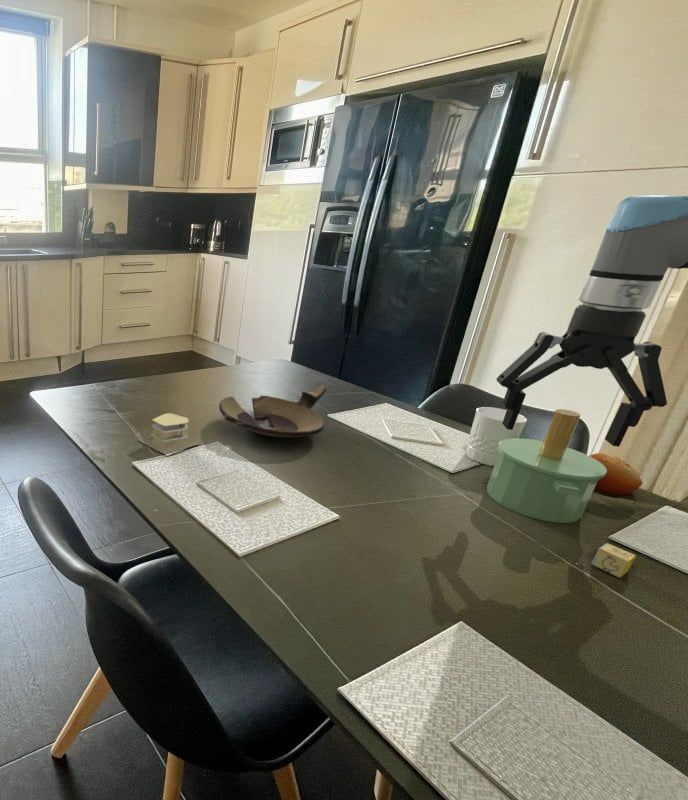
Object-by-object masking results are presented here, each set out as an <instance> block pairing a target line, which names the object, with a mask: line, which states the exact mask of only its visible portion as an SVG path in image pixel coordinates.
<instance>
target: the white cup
mask: <svg viewBox="0 0 688 800" xmlns="http://www.w3.org/2000/svg"><path fill="white" fill-rule="evenodd" d="M506 411H507V409H504V408H499V407H491V406H481V407H478V408H476V410H475V414H474V417H473V421H472V424H471V428H470V432H469V433H470V434H469V436H468V443H467V445H466V450H465V453H466V454H465V455H466V457H467V456H468V457H469V458H468V457H467V458H468V459H470V458H471V459H470V460H472V461H473V460H475V461H474V462H476V461H477V462H476V463H479V462H480V463H479V464H482V465H486V466H491V467H494V466H495V463H496V460H497V458H498V455H499V452H500V451H499V449H498V445H499V442H500V441H502V440H505V439H510V438H520V437H521V435H522V432H523V430H524V428H525V426H526V423H527V421H528V418H526V417H525V416H523V415H522V414H520V413H519V414H518V417H517V419H516V422H515V424H514V427H513V430H510V429H506V427H505V426H504V425H503V424H502V422H503V419H504V417H505V414H506Z"/></svg>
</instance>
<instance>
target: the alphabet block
mask: <svg viewBox="0 0 688 800" xmlns="http://www.w3.org/2000/svg"><path fill="white" fill-rule="evenodd" d="M636 557H637V555H636V554H634V553H632V552H630V551H626V550H624V549H622V548H619V547H617V546H615V545H613V544H610V543H608V542H607V543H604V544H603V545H602V546H600V547H599V548H598V550H597V552H596V554H595V555H594V557H593V559H592V561H591V563H590V564H591V566H594V567H595V568H598V569H600V570H602V571H604V572H606V573H608V574H610V575H612V576H615V577H617V578H619V579H620V578H622V577H623V576H625V574H627V573H628V571H629V570H630V568H631V566H632V564H633V563H634V561H635V559H636Z"/></svg>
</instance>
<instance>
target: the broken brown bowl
mask: <svg viewBox="0 0 688 800" xmlns="http://www.w3.org/2000/svg"><path fill="white" fill-rule="evenodd" d="M327 389H328V388H327V387H326V386H325V385H322V386H319V387H318V388H316V389H314V390H312V391H302V392H301V397H300V398H299V400H298V402H295V401H291V400H286V399H283V398H279V397H273V396H269V395H260V396H259V397H252V398H251V403H252V409H253V413H254V417H253V416H251V415H250V414H249V413H248V412H247V411H246V409H244V408H243V407H242V406H241V404H240V403H238V401H237V400H236V398H234V397H233V396H228V397H224V398H223V399H221V400H220V401H219V403H218V404H219V405H218V409H219V412H220V414H221V415H222V416H223V419H224V420H225V421H228V422H230V423H233V424H235V425H236V426H237V427H240V428H243V429H245V430H248V431H250V432H252V433H255V434H258V435H262V436H267V437H273V438H301V437H305V436H306V437H307V436H312V435H313V436H314V435H317V434H319V433H320V432H323V430H324V428H325V421H324V418H323V417H322V416H321V415H320V414H319V413H317V412H316V411H314V410H313V409H312V408H313V407H314V406H315V405H316V404H317V402H318V401H319V400H320V399H321V398H322V397H323V396H324V394H325V393H326V391H327ZM265 420H269V423H270V424H271V425H272V427H271V428H267V427H263V426H264V425H265V423H264V424H260V423H259V422H258V421H265Z"/></svg>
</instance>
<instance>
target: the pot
mask: <svg viewBox="0 0 688 800" xmlns="http://www.w3.org/2000/svg"><path fill="white" fill-rule="evenodd" d="M598 480H599V479H596V480H579V479H571V478H565V477H560V476H555V475H551V474H547V473H544V472H540V471H537V470H534V469H531V468H528V467H526V466H523V465H521V464H519V463H517V462H515V461H513V460H511V459H509V458H507V457H506V456H504V455H503V454H502V453H501V452H499V455H498V458H497V460H496V463H495V466H493V468H492V471H491V474H490V477H489V480H488V483H487V485H486V492H487V494H488V496H489V497H490V498H491V499H492V500H493V501H495V502H496V503H498V504H500V505H501V506H503V507H504V508H507V509H509V510H511V511H513V512H515V513H518V514H519V515H523V516H526V517H529V518H532V519H536V520H540V521H544V522H549V523H555V524H572V523H576V522H578V521H579V520H580V519H581V518H582V516H583V515H584V512H585V510H586V508H587V506H588V504H589V502H590V499H591V497H592V495H593V492H594V491H595V490H594V488H595V486H596V484H597V482H598Z"/></svg>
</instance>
